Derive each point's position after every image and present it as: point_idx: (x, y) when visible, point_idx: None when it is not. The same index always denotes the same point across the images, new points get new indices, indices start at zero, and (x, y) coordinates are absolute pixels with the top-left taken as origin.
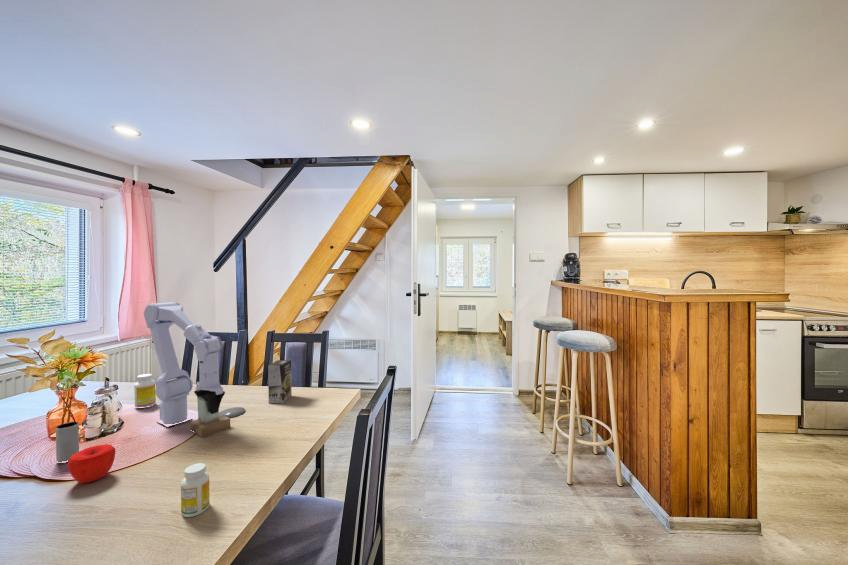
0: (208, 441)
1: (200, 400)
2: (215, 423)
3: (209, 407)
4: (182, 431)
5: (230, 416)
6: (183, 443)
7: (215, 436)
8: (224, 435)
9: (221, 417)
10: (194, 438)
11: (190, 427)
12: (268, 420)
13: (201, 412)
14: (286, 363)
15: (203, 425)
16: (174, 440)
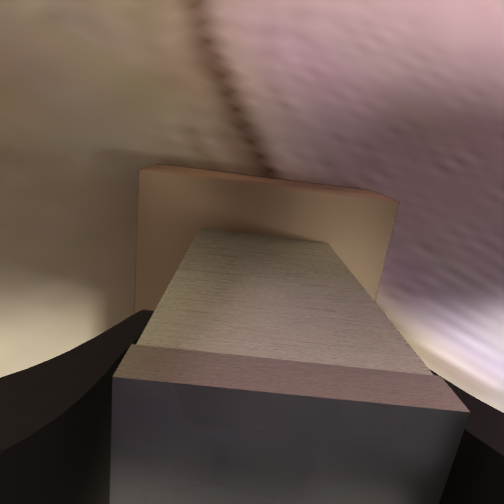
0: (42, 141)
1: (298, 356)
2: (135, 283)
3: (134, 339)
4: (415, 156)
5: None
6: (185, 25)
7: (84, 215)
8: (43, 253)
9: None
10: (196, 123)
11: (367, 192)
12: None
13: (261, 269)
14: None
15: (193, 212)
16: (313, 23)
